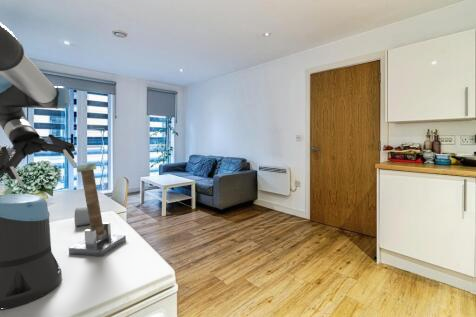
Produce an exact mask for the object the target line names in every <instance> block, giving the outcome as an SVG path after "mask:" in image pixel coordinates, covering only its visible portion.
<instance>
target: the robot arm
mask: <svg viewBox="0 0 476 317" xmlns="http://www.w3.org/2000/svg"><path fill="white" fill-rule="evenodd" d="M70 103H71V97H70V93H69V89H68V88H67V87H66V86H59V85H54V84H53V83H52V82H51V81H50V80H49V79H48V77H47V76H45V74H44V73H43V72H42V71H41V70H40V69H39V68H38V67H37V66H36V65H35V63H33V61H32V60H31V59H30V58H29V57H28V56H27V55H26V54H25V49H24V45H23V44H22V43H21V41H20V40H19V39H18V38H17V37H16V35H14V34H13V32H12V31H10V29H9V28H7V27H6V26H5V25H4V24H2V23H1V22H0V128H1V129H2V130H3V131H4V133H5V135H6V137H7V138H8V139H9V141H10V143H11V145H12V147H8V148H7V147H5V146H3V147H0V150H1V154H0V176H3V175H4V174H7V175H8V177H9V178H10V180H15V179H16V181H17V182H18V183H19V186H20V187H21V188H24V187H25V184H24V182H23V181H22V178H21V177H20V176H19V174H18V171H17V170H16V169H17V168H18V166H19V165H20V164H21V162H22V161H23V160H24V159H26V157H27V156H31V155H33V154H37V153H40V152H46V153H48V152H52V153H57V154H63V155H64V157H65V159H66V160H67V161H68V163H69V164H70V165H71V166H72V168H73V169H74V168H77V165H76V162H75V156H74V153H73V152H75V151H76V148H75V144H74V143H71V142H69V141H67V140H66V141H65V140H63V139H61V138H58V137H55V136H54V135H53V134H51V133H50V134H48V136H46V137H45V138H44V137H41V136H40V134H39V133H38V131H37V130H36V129H35V128H34V126H33V125H32V123H31V122H30V121H29V119H28V118H27V116H26V114H25V112H24V110H23V108H28V109H29V108H31V109H55V110H58V109H68V108H69V107H70ZM13 153H14V154H13ZM50 225H51V224H50V211H49V206H48V201H47V200H46V199H45V198H44V197H43V196H39V195H36V194H29V193H27V194H25V193H8V194H0V310H2V309H1V308H6V309H10V308H15V307H19V306H22V305H26V304H28V303H30V302H33V301H35V300H38V299H40V298H42V297H43V296H46V295H47V294H49V293H50V292H52V291H53V290H55V289H56V288H57V287H58V286H59V285H60V284H61V282H62V280H63V274H62V269H61V267H60V265H59V264H58V261H57V259H56V258H55V256H54V254H53V252H52V244H51V243H52V240H51V228H50Z"/></svg>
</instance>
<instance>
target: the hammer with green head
mask: <svg viewBox="0 0 476 317" xmlns="http://www.w3.org/2000/svg"><path fill="white" fill-rule="evenodd" d="M94 170H97V166H96V163H89V164H88V163H87V164H81V165H76V171H77V173H80V175H81V180H82V186H83V192H84V197H85V202H86V203H85V204H86V207H87V209H88V215H89V221H90V224H89V225H90V226H89V227H90V229H91V230H96V240H97V241H99V240H101V239H102V238H104V237H106V236H107V231H106V230H105V229H103V223H102V222H103V218H102V214H101V208H100V201H99V195H98V188H97V183H96V177H95V171H94Z"/></svg>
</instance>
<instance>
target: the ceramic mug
mask: <svg viewBox="0 0 476 317" xmlns="http://www.w3.org/2000/svg"><path fill="white" fill-rule="evenodd" d="M73 219H74V226H75V227H78V226H85V225H90V221H89V215H88V209H87V206H86V207H85V206H84V207H75V209H74V218H73Z"/></svg>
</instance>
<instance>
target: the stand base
mask: <svg viewBox="0 0 476 317" xmlns="http://www.w3.org/2000/svg"><path fill="white" fill-rule="evenodd" d="M102 223H103V229H105V230H106V231H107V236H106V237H104V238H102V239H101V240H99V241H97V240H96V230H91V228H90V229H89V228H87V229H85V230H84V239H83V240H81V241H79V242H77V243H75V244H74V245H71V246H70V247H68V254H69V255H78V256H89V257H103V256H105V255H107V254H108V253H110V252H111V251H112V250H113V251H114V249H116V248H117V247H119V246H121V245H122V244H123V243H125V242H126V241H127V235H122V234H112V230H111V223H110V222H103V221H102Z"/></svg>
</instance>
